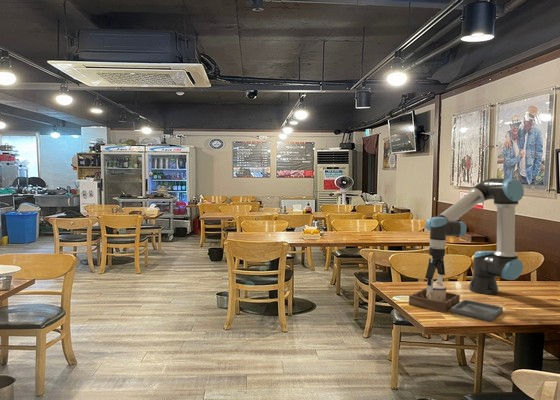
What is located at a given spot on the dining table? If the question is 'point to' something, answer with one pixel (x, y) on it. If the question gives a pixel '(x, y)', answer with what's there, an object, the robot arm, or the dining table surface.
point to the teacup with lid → (437, 292)
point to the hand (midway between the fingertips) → (434, 289)
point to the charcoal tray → (477, 310)
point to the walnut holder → (420, 301)
